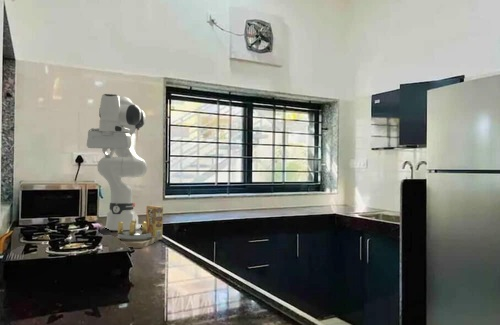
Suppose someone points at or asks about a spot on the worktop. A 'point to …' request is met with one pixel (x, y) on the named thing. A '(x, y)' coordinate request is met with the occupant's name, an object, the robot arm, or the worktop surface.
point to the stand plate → (141, 242)
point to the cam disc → (133, 232)
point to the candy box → (154, 220)
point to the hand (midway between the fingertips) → (108, 158)
